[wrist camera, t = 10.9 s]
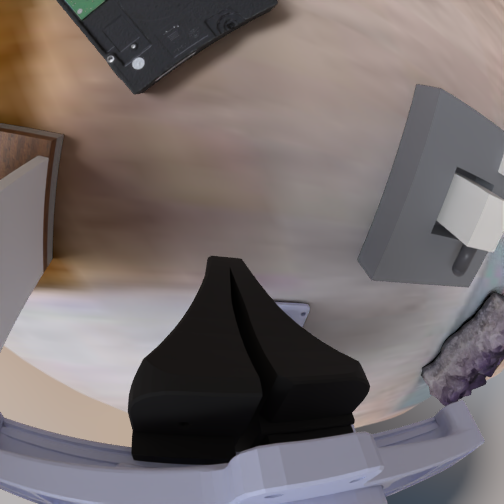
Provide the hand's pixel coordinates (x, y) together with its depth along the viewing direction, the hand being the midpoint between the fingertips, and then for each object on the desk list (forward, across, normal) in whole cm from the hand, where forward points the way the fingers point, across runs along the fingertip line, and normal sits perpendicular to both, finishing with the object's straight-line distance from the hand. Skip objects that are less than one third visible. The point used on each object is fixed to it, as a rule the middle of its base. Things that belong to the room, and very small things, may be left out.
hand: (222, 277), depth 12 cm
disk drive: (+12, +7, -14) cm, 20 cm away
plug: (+10, -20, -2) cm, 23 cm away
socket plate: (+10, -20, -3) cm, 23 cm away
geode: (+10, -40, +16) cm, 45 cm away
